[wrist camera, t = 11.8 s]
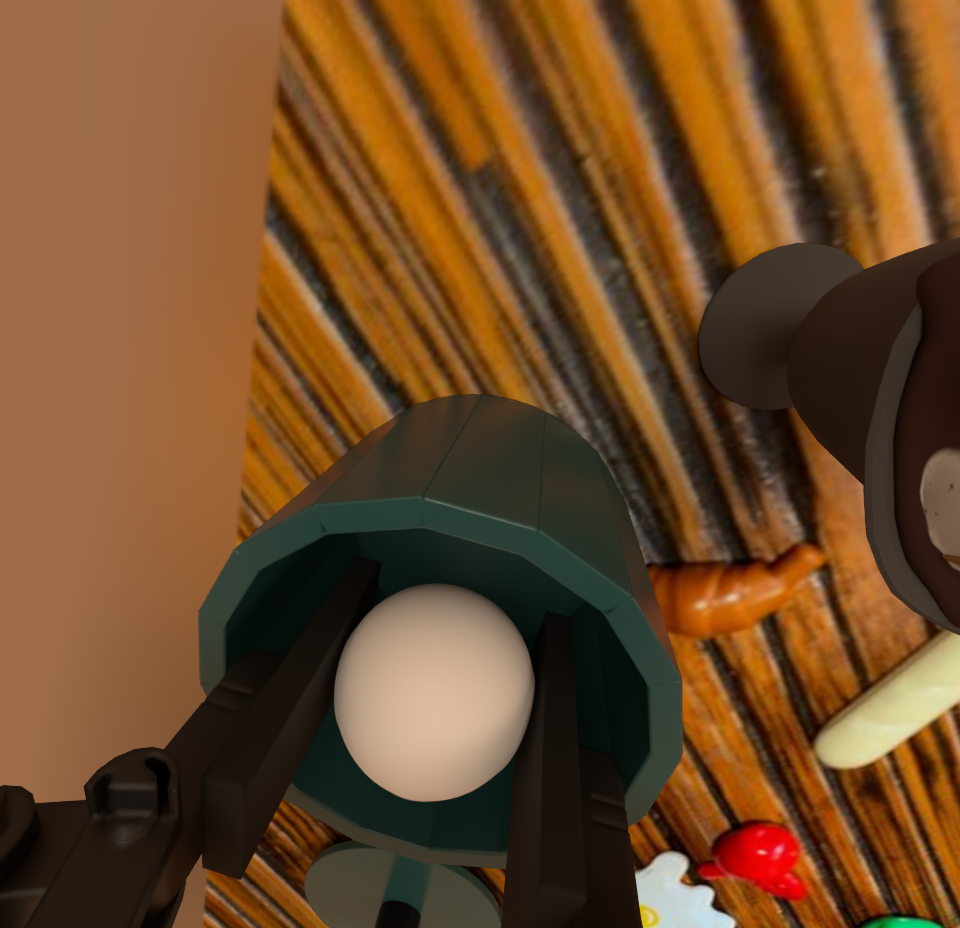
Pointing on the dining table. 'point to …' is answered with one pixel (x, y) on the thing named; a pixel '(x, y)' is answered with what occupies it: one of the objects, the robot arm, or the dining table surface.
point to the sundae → (861, 390)
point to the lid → (395, 891)
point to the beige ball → (434, 692)
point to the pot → (473, 565)
